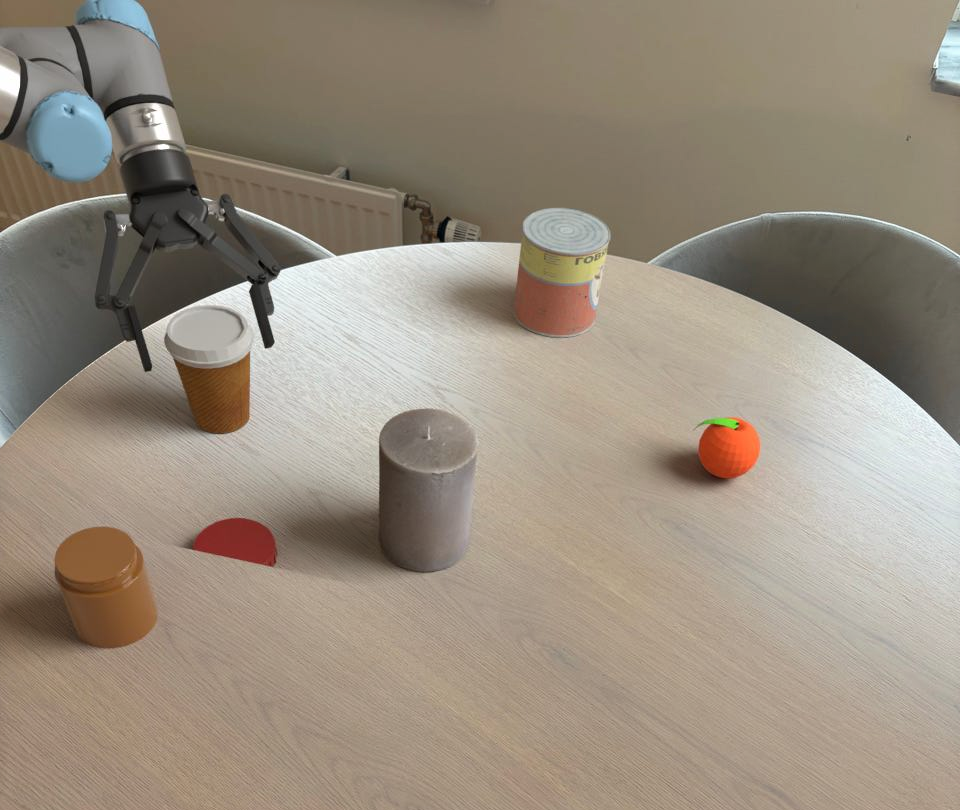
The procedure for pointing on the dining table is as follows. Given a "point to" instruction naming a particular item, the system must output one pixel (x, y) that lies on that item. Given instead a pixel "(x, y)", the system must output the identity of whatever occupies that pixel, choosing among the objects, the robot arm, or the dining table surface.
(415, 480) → the pillar candle
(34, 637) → the dining table surface
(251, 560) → the lid
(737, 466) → the clementine
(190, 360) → the disposable coffee cup
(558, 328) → the canned food
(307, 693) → the dining table surface
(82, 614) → the jam jar
